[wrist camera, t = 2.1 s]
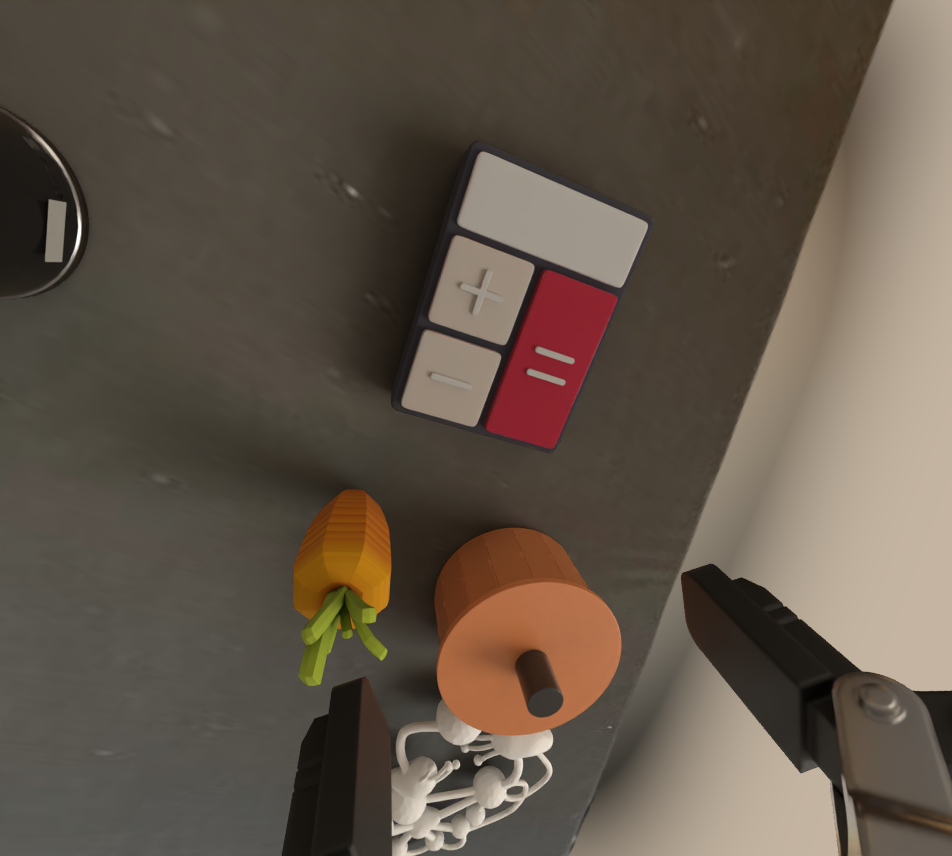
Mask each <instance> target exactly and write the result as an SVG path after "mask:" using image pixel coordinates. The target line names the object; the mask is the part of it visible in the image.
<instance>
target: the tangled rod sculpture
mask: <svg viewBox="0 0 952 856" xmlns="http://www.w3.org/2000/svg"><path fill="white" fill-rule="evenodd" d="M416 732H440V734H441V735H442V736H443V737H444V739H445V740H447V741H449V742H450V743H452V744H454V745H461V746H460V748H461V751H462V752H464V753H466V752H468V751H469V750H471V751H483V750H487V749H491V748H494V751H491V752H489V753H487V754H485V755H483V756H481V755H476V756H475V757H474V763H475V765H477V766H480V765H481V764H482V762H483V761H485V760H487V759H488V758H490V757H493V756H496V755H502V756H504V757H506V758H508V759H511V760H514V770H513V772H512V774H511V775H510V776H509V777H508V778H506V779H505V777H504V775H503V773H502V772H501V771H500V770H499V769H498V768H496V767H494V766H485V767H483V768H481V769H479V771H478V772H477V773H476V775H475V777H474V779H473V784H472V787H469V788H463V789H457V790H451V791H445V792H439V793H433V794H429V793H430V792H431V791H432V789H433V788H434V786H435V785H436V783H438V782H439V781H441V780H443V779H444V778H445V777H446V776H448V775H449V774H450V773H451V772H452V770H453V769H458V768H459V767H460V762H459V760H454V761H453V762H452V763H451V762H450V761H446V762H445V764H444V766H443V767H442V768H441V770H440V771H439V772H438V773H437V767H436V764H435V762H434V761H433V760H431V759H430V758H428V757H425V756H420V757H417V758H414V759H413V760H411V761H409V762H408V760H407V758H406V754H405V740H406V737H407V735H409V734H411V733H416ZM480 732H481V730H478V729H475V728H473V727H471V726H469V725H467V724H466V723H464V722H463V721H461V720H460V719H459V718H458V717H456V716H455V715H454V714H453V713H452V712H451V710H450V709H449V708H448V707H447V705H446V704H445V702H444V700H443V698H442V700H441V701H440V703H439V705H438V707H437V713H436V721H417V722H413V723H409V724H407V725H405V726H403V727H402V728H401V729H400V731H399V733H398V736H397V740H396V755H397V760H398V763H399V765H400V766H399V767H395V768H393V769H392V770H391V785H392V836H394V837H393V838H392V856H414V855H418V854H421V853H423V852H425V851H427V850H431V851H437V850H439V849H440V848H443V849H446V850H456V849H459V848H461V847H462V846H463V845H464V844H465V842H466V835H467V834H468V832H470V831H472V830H475V829H477V828H480V827H482V826H485V825H487V824H490V823H492V822H495V821H497V820H499V819H501V818H503V817H505V816H507V815H509V814H511V813H512V812H514V811H515V810H516V809H517V808H518V807H519V806H520V805H521V803H522V802H523V800H524V799H525V798H526V797H528V796H529V795H531V794H533V793H534V792H535V791H537V790H538V789H539V788H541V787H542V786H543V785H544V784H545V783H546V782H547V781H548V780H549V779H550V777H551V775H552V766H551V764H550V762H549V761H548V759H547V758H546V757H545V756H544V755H543V754H542V753H544V752H546V751H547V750H548V749H550V748H551V746H552V743H553V736H552V733H551V731H550V730H549V729H548V730H545V731H542V732H538V733H533V734H527V735H516V736H507V735H496V734H491V733H490V735H479V734H480ZM474 740H480V741H485V740H491V743H489V744H486V745H480V746H473V745H469V743H470V742H472V741H474ZM535 755H537V756H538V757H539V759H540V760H541V761H542V762H543V763H544V765H545V766H546V768H547V772H546V774H545V776H544V777H543V778H542V779H541V780H540V781H538V782H537V783H536V784H535V785H534V786H532V787H531V788H529V789H528V784H527V783H526V782H525V780H522V779H519V778H520V776H521V774H522V769H523V759H522V758H525V757H531V756H535ZM512 786H523V791H522V792H521V793H519V794H517V795H508V794H506V791H507V789H508V788H510V787H512ZM467 796H469V797H467ZM461 797H467V798H465V799H463V800H461V801H459V802H457V803H455V804H453V805H450V806H448V807H446V808H444V809H442V810H440V811H439V810H438V809H436V808H434V807H430V806H426V803H431V802H437V801H443V800H449V799H455V798H461ZM503 800H506V801H510V802H514V801H515V802H514V804H513V805H512V806H511V807H509V808H508V809H506V810H504V811H502V812H500V813H497V814H495V815H493V816H491V817H488V818H486V819H484V818H485V810H484V808H489V809H492V808H496V807H497V806H499V805H500V804H501V803H502V802H503ZM467 806H468V807H467ZM465 807H467V809H466V816H465V815H464V814H457V815H455V816H454V818H453V819H452V820H451V823H443V822H440V820H441V819H443V818H445V817H447V816H449V815H451V814H453V813H455V812H457V811H459V810H461V809H463V808H465ZM393 820H394V821H395V822H397V823H398V824H396V825H394V824H393ZM470 824H471V825H470ZM442 831H446V832H452V834H453V835H454V836H455V837H456V838H459V839H461V841H460V842H458V843H456V844H447V843H443V841H444V834H443V832H442ZM404 832H405V833H404ZM401 833H404V834H403V835H398V834H401ZM395 835H396V836H395ZM411 837H413V838H416V839H421V838H423V837H425V843H426V845H425V846H423V847H421V848H418V849H414V850H407V848H408V844H407V842H408V841H409V840H410V838H411Z"/></svg>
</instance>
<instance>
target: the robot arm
mask: <svg viewBox="0 0 952 856" xmlns="http://www.w3.org/2000/svg"><path fill="white" fill-rule="evenodd" d="M88 232H89V219H88V211H87V206H86V202H85V198H84V195H83V192H82V189H81V187H80V185H79V182H78V180H77V178H76V176H75V174H74V173H73V171H72V169H71V167H70V166H69V164H68V163H67V161H66V160H65V159H64V157H63V156H62V155H61V153H60V152H59V151H58V150H57V149H56V147H55V146H54V145H53V144H52V143H51V142H50V141H49V140H48V139H47V138H46V137H45V136H44V135H43V134H42V133H40V132H39V131H38V130H37V129H35V128H34V127H33V126H32V125H30V124H29V123H27V122H26V121H25V120H23V119H22V118H20V117H18V116H17V115H15V114H13V113H11V112H9V111H7V110H5V109H3V108H1V107H0V299H15V298H24V297H30V296H35V295H38V294H41V293H44V292H47V291H49V290H51V289H53V288H55V287H56V286H58V285H59V284H61V283H62V282H63V281H65V280H66V279H67V278H68V277H69V276H70V275H71V274H72V273H73V271H74V270H75V269H76V268H77V266H78V264H79V263H80V261H81V259H82V257H83V254H84V252H85V249H86V245H87V240H88ZM681 584H682V592H683V600H684V609H685V617H686V623H687V626H688V629H689V632H690V634H691V636H692V638H693V640H694V641H695V643H696V645H697V646H698V647H699V649H700V650H701V651H702V652H703V653H704V655H705V656H706V657H707V658H708V659H709V661H710V662H711V663H712V665H713V666H714V667H715V668H716V669H717V671H718V672H719V673H720V674H721V676H722V677H723V678H724V679H725V680H726V682H727V683H728V684H729V686H730V687H731V688H732V689H733V690H734V692H735V693H736V694H737V695H738V697H739V698H740V699H741V700H742V701H743V703H744V704H745V705H746V707H747V708H748V709H749V710H750V711H751V713H752V714H753V715H754V716H755V718H756V719H757V720H758V721H759V723H761V725H762V726H763V727H764V729H765V730H766V731H767V732H768V734H769V735H770V736H771V737H772V739H773V740H774V741H775V742H776V744H777V745H778V746H779V747H780V748H781V750H782V751H783V752H784V753H785V755H786V756H787V757H788V758H789V760H790V761H791V762H792V763H793V764H794V766H795V767H796V768H797V769H798V770H799V772H800V773H803V772H806V771H808V770H811V769H814V768H816V767H819V768H820V769H821V770H822V771H823V772H824V773H825V774H826V776H827V777H828V778H829V779H830V790H831V798H832V806H833V814H834V821H835V829H836V837H837V845H838V853H839V856H952V691H912V690H910V689H909V688H907V687H906V686H905V685H903V684H901V683H899V682H897V681H896V680H893V679H891V678H889V677H886V676H883V675H880V674H876V673H871V672H862V671H861V670H860V669H858V668H857V667H856V666H855V665H854V664H852V663H851V662H850V661H849V660H848V659H847V658H845V657H844V656H843V655H842V654H841V653H840V652H838V651H837V650H836V649H835V648H834V647H832V645H830V644H829V643H828V642H827V641H826V640H825V639H823V638H822V637H821V636H820V635H819V634H817V633H816V632H815V631H814V630H813V629H812V628H811V627H809V626H808V625H807V624H806V623H805V622H804V621H802V620H801V619H800V620H799V619H798V617H797V615H795V614H794V613H793V612H792V611H791V610H790V609H788V608H787V607H786V606H785V607H784V606H783V604H782V602H780V601H779V600H778V599H777V598H776V597H774V596H773V595H772V594H771V593H770V592H769V591H768V590H766V589H765V588H764V587H761V586H759V585H757V584H755V583H753V582H751V581H748V580H746V579H744V578H738V579H735V580H731V579H730V578H729V577H728V576H727V575H726V574H725V573H723V572H722V571H721V570H720V569H719V568H718V567H717V566H715V565H714V564H708V565H705V566H702V567H699V568H696V569H693V570H690V571H687V572H684V573H682V575H681ZM282 856H392V785H391V742H390V736H389V731H388V727H387V723H386V721H385V718H384V716H383V713H382V711H381V709H380V706H379V704H378V702H377V700H376V697H375V695H374V693H373V690H372V688H371V686H370V683H369V681H368V679H367V678H366V677H362V678H359V679H356V680H353V681H350V682H347V683H344V684H341V685H338V686H335V687H333V689H332V692H331V699H330V707H329V714H327V715H324V716H321V717H318V718H315V719H314V721H313V723H312V724H311V726H310V728H309V730H308V732H307V734H306V736H305V738H304V739H303V741H302V744H301V750H300V755H299V761H298V772H296V778H295V784H294V792H293V795H292V800H291V806H290V812H289V817H288V823H287V829H286V834H285V840H284V845H283V851H282Z"/></svg>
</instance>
